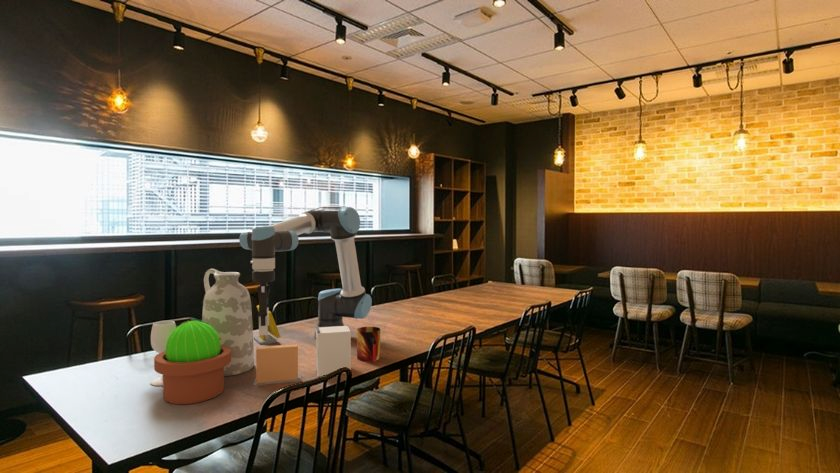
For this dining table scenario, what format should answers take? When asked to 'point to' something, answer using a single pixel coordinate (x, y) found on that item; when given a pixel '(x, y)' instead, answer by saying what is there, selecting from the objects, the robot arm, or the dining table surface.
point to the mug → (368, 343)
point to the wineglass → (161, 341)
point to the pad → (277, 381)
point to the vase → (230, 318)
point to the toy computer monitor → (271, 329)
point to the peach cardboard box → (276, 363)
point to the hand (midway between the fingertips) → (264, 330)
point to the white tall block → (332, 349)
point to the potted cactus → (192, 363)
